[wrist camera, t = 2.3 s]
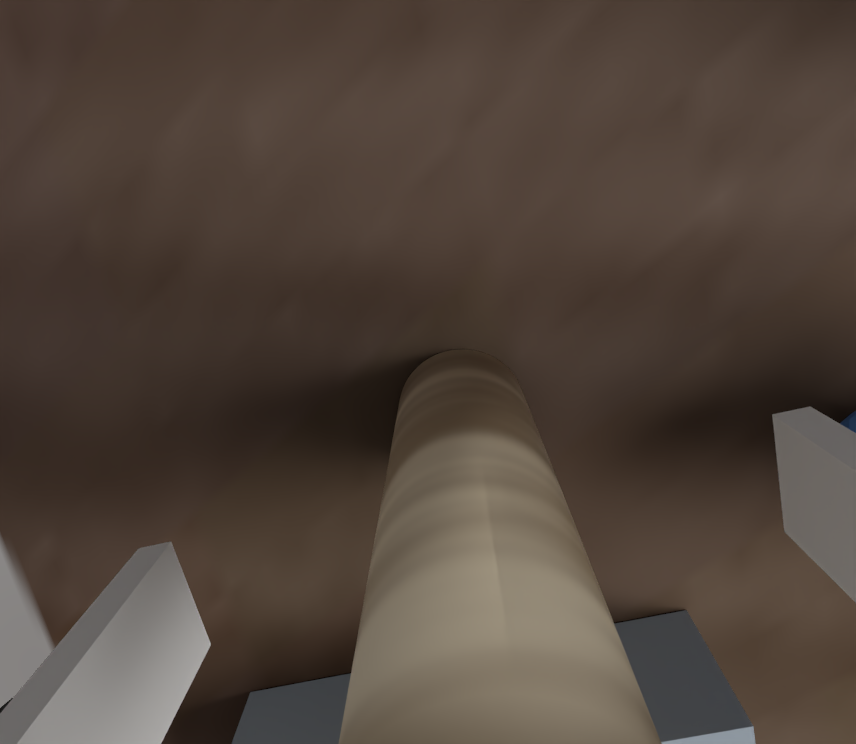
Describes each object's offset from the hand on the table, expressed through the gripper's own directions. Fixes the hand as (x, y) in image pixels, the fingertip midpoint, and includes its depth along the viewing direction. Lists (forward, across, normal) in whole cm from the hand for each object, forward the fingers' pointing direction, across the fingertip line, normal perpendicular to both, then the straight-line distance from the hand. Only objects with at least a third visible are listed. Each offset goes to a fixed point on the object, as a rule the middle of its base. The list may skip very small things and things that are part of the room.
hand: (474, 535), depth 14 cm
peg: (+7, 0, 0) cm, 7 cm away
